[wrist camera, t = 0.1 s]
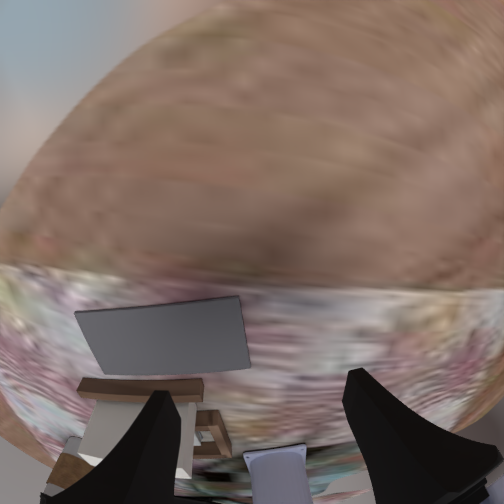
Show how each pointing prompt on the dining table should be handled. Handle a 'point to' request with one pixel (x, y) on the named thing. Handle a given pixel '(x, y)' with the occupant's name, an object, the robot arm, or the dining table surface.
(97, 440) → the white rectangular block
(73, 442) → the coffee cup
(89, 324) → the mat
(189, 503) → the magazine
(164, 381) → the brown wooden frame
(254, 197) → the dining table surface
